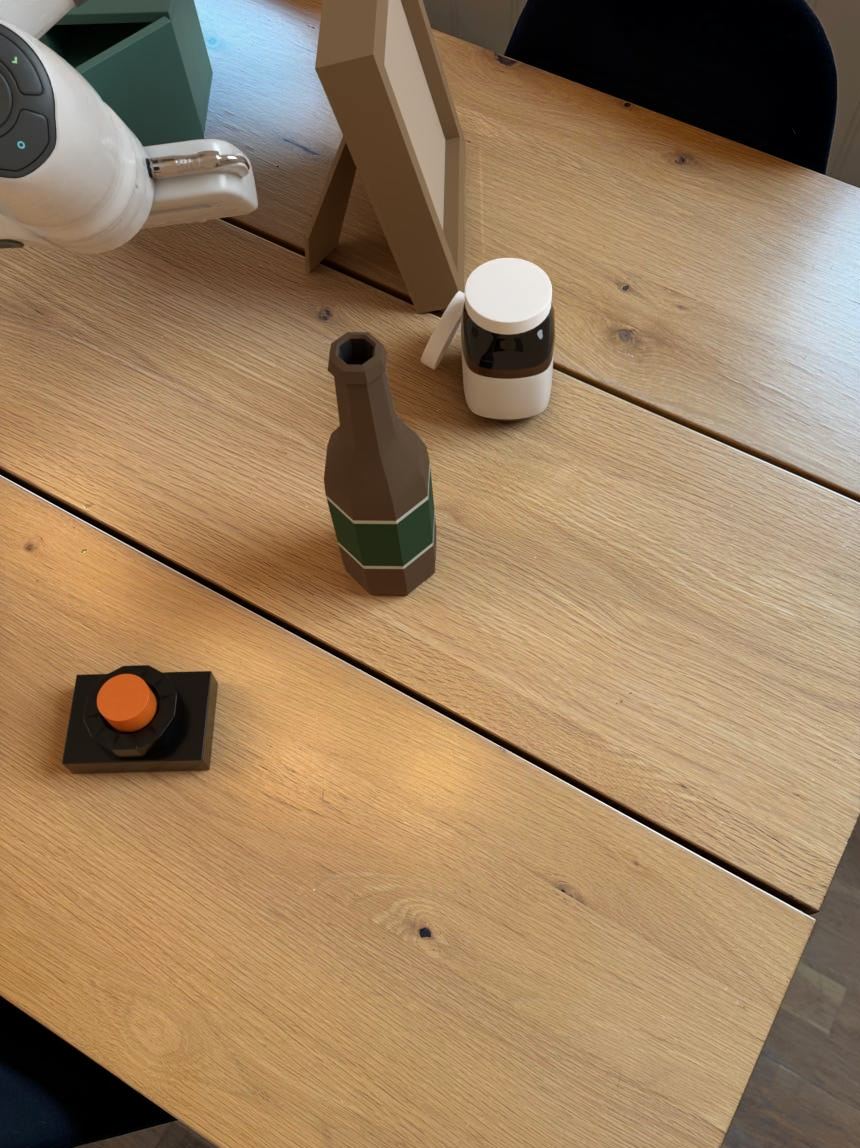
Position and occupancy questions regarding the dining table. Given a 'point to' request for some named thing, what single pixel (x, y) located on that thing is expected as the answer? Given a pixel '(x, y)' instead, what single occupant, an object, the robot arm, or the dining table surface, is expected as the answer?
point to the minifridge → (120, 11)
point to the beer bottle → (377, 476)
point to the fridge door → (147, 85)
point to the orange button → (127, 702)
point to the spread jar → (501, 339)
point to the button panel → (160, 745)
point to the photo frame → (393, 143)
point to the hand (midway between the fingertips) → (132, 220)
